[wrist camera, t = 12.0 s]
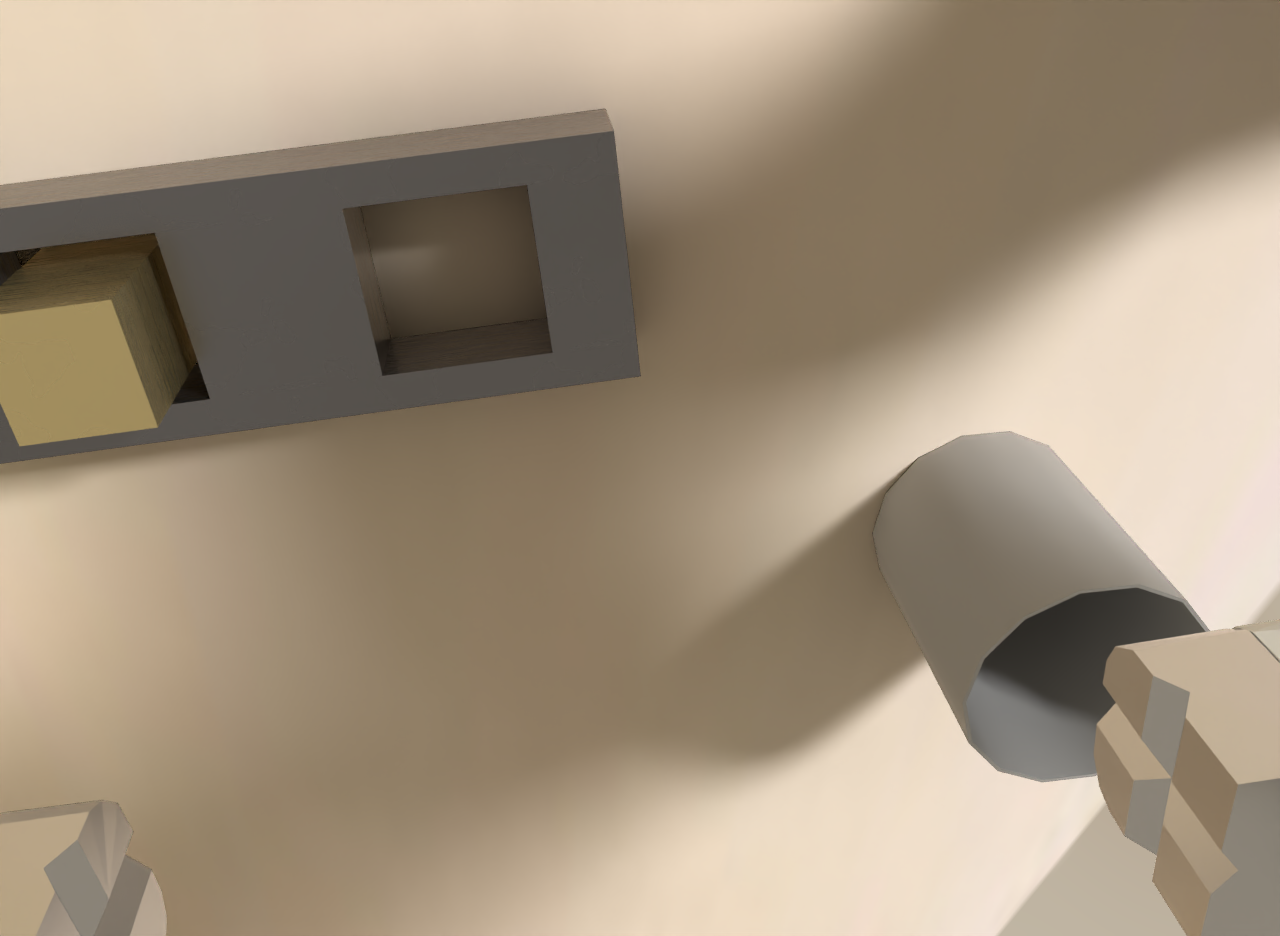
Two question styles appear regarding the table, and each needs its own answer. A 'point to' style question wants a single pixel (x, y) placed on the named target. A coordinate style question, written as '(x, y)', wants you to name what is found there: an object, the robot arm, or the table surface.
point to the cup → (1019, 597)
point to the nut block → (91, 341)
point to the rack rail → (348, 272)
